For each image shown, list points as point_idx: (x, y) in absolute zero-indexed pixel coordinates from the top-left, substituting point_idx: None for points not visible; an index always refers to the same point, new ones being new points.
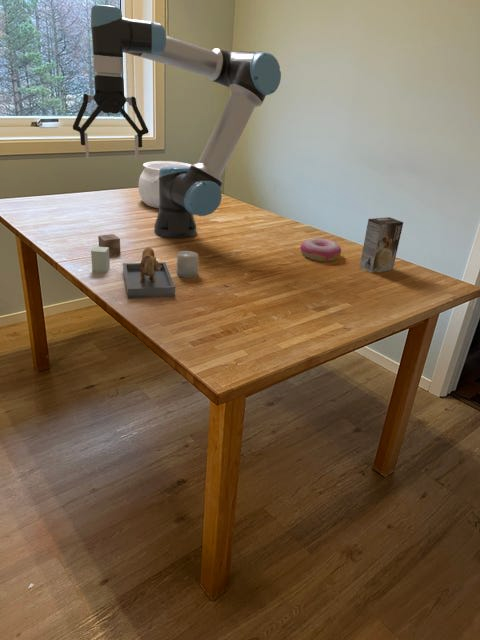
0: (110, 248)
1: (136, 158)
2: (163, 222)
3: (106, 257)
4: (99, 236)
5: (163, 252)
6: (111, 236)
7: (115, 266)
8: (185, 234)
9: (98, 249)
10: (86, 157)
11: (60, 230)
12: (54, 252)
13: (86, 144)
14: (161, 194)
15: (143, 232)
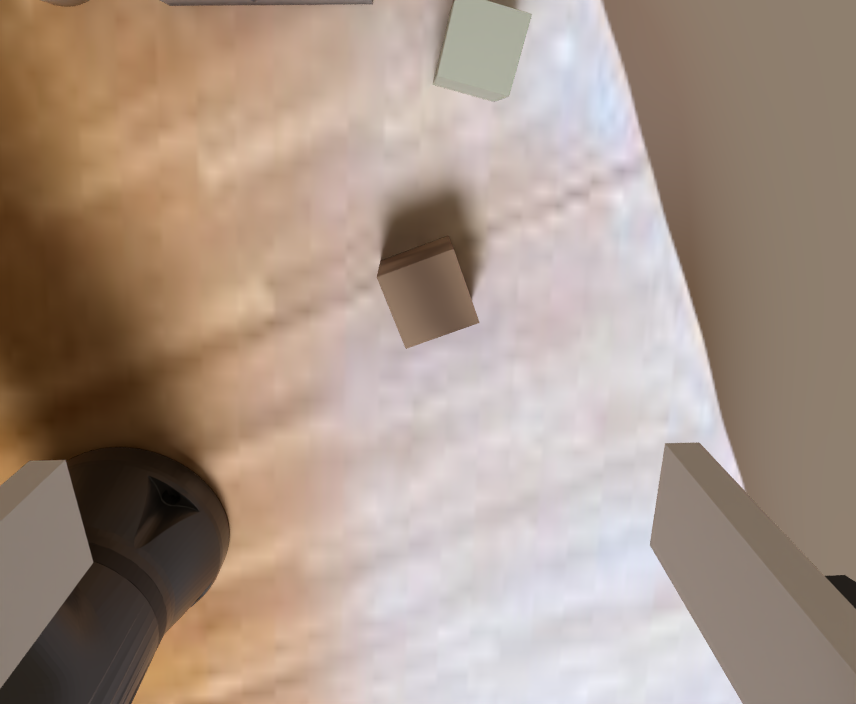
0: (424, 250)
1: (45, 470)
2: (165, 522)
3: (450, 15)
4: (474, 312)
5: (184, 268)
6: (417, 310)
7: (406, 88)
8: (77, 460)
9: (492, 39)
10: (700, 449)
11: (612, 544)
12: (655, 288)
13: (788, 562)
14: (115, 648)
15: (277, 523)
